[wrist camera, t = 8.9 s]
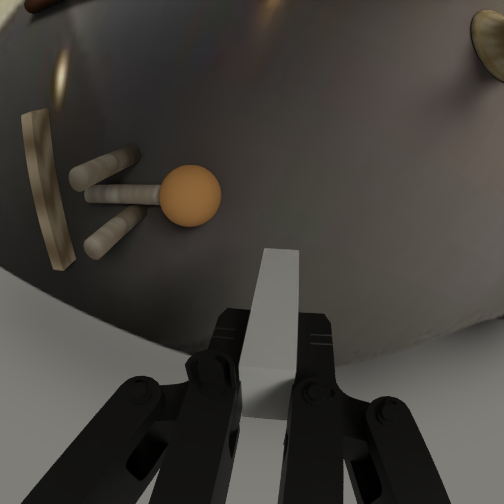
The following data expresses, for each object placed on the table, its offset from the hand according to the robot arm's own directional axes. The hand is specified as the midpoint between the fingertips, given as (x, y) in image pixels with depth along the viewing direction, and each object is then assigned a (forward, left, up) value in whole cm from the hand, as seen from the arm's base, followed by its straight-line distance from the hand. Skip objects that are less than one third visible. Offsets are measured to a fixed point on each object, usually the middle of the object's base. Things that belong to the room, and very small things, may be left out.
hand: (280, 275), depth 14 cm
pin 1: (-3, -16, -15) cm, 22 cm away
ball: (+1, -8, -13) cm, 15 cm away
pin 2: (+3, -16, -15) cm, 22 cm away
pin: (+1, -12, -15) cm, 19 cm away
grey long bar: (0, -28, -15) cm, 32 cm away
